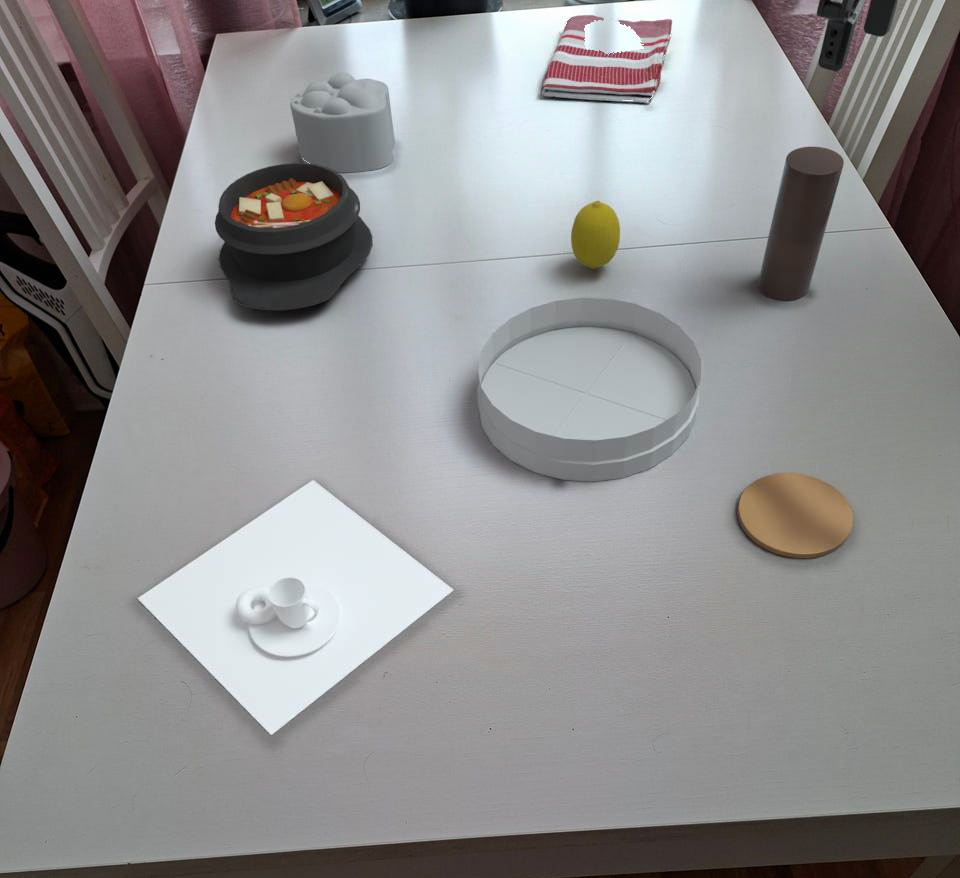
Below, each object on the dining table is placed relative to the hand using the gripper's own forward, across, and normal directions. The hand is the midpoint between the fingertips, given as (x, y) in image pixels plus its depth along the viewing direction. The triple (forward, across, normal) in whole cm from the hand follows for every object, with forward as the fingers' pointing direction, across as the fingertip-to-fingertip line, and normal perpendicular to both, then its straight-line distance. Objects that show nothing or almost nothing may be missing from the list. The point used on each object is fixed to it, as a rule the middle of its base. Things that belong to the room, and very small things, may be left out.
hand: (853, 50), depth 80 cm
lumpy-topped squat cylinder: (+24, -7, +64) cm, 69 cm away
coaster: (+24, -30, -17) cm, 42 cm away
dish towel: (+24, +35, +50) cm, 66 cm away
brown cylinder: (+24, 0, +1) cm, 24 cm away
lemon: (+24, -9, +20) cm, 33 cm away
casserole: (+24, -29, +50) cm, 63 cm away
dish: (+24, -29, +7) cm, 39 cm away
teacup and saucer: (+24, -65, +12) cm, 70 cm away
